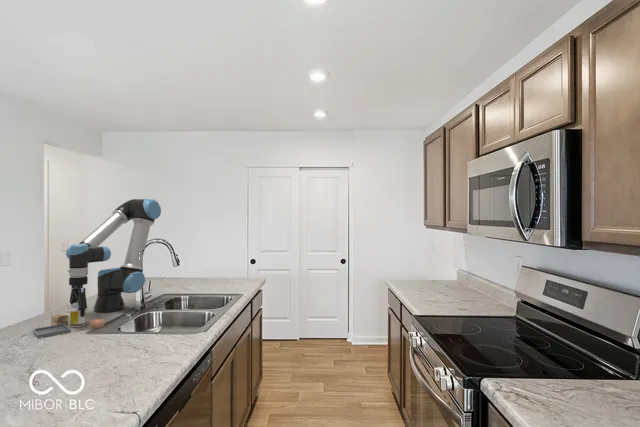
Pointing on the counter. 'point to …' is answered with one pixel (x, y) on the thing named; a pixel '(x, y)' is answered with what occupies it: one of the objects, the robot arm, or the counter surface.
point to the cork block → (59, 319)
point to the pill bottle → (75, 316)
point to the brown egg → (97, 323)
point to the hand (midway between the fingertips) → (77, 320)
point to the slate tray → (51, 330)
